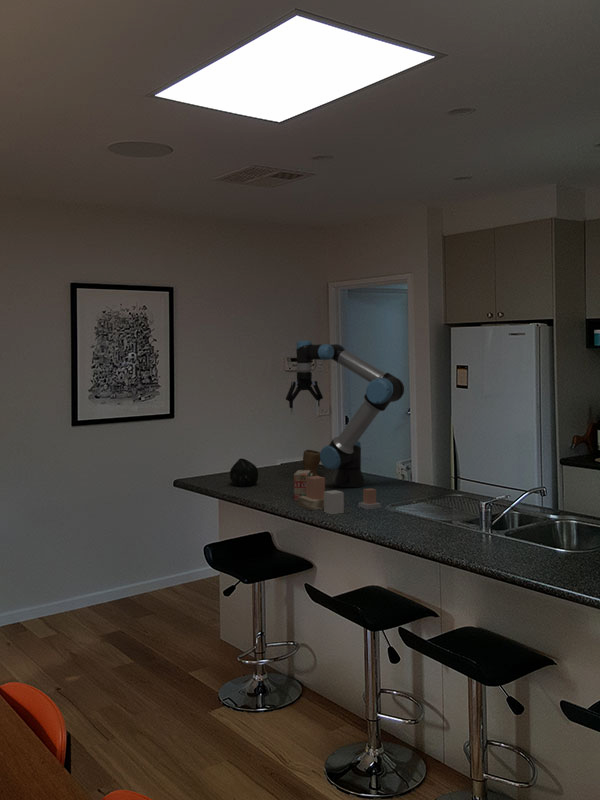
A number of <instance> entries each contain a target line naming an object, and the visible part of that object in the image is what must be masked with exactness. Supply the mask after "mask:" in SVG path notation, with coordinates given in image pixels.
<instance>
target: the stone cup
mask: <svg viewBox="0 0 600 800" xmlns="http://www.w3.org/2000/svg"><path fill="white" fill-rule="evenodd" d="M320 452H321V451H317V450H313V449H305V450H304V452H303V455H302V456H303V457H302V464H303V470H310V473H313V476H320V475H319V474H318V473H317V471H318V467H319V465H320V463H321V460H320ZM298 470H299V469H298ZM298 470H295V472H294V474H295V473H296V472H297V471H298Z"/></svg>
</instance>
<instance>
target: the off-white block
mask: <svg viewBox="0 0 600 800" xmlns="http://www.w3.org/2000/svg"><path fill="white" fill-rule="evenodd" d="M344 495H345V493H344V492H343V491H341V490H336V489H334V490H325V492H324V509H323V513H324V512H326V513H325V514H327V513H329V514H328V515H330V514H337V513H344V514H345V512H344V511H345V510H344V508H345V507H344V506H345V505H344V500H345V499H344V498H345V497H344ZM337 515H338V514H337Z"/></svg>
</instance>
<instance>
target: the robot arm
mask: <svg viewBox="0 0 600 800" xmlns="http://www.w3.org/2000/svg"><path fill="white" fill-rule="evenodd" d="M295 350H296V371H297V372H296V381H290V382H291V383H290V387H289V390H288V392H287V395H286V397H285V400H286V401H288V403H289V405H288V406H289V408H290V415H292V416H293V415H295V414H296V413H295V412H296V407H295V406H296V405H295V399H296V397H297V396H298V395H299V394H300V392H301V391H309V393H310V394H311V396H312V398H314V399H315V400H314V401H313V407H314V408H313V409H314V410H313V413H314V414H319V407H320V404H321V403H320V401H321V400H322V399H324V397H323V394H322V392H321V390H320V387H319V386H318V381H317V380H312V377H313V373H312V369H313V367H312V360H315V361H316V360H317V361H319V360H321V361H322V360H323V361H328V360H332V361H334V362H336V363H338V364H340V365H341V366H343V367H344V368H346V369H348V370H349V371H351V372H352V373H354V374H356V375H357V376H359V377H360V378H362V379H364V380H365V381H367V382H369V383H368V384H367V387H366V390H365V391H366V392H365V394H364V396H363V399H364V401H363V403H362V404H361V405H360V407H359V408H358V410H357V411H356V412H355V414H354V415H353V417H352V418H351V419H350V420H349V422H348V423H347V425H346V426H345V427H344V429H343V430H342V431H341V433H340V435H338V436H336V437H334V438H333V439H332V440H331V441H330V442H329V444H328V445H325V446H324V447H323V448H322V449H320V451H319V452H320V463H321V465H322V466H323V467H324V468H325V469H328V470H337V472H336V475H335V478H334V486H335V487H337V486H338V488H343V487H356V488H361V486H362V487H365V479H364V476H363V473H362V468H361V467H362V465H361V464H362V463H361V462H362V456H361V455H362V447H361V442H360V441H359V440H360V438H361V437H362V435H363V434H364V433H365V431H366V430H367V429H368V427H369V426H370V425H371V423H373V421H374V419H375V418H376V417H377V415H378V414H379V413H380V412H384V411H385V410H386V409H387V408H388V406H389V405H390V404H391V403H393V402H397V401H399V400H400V399H402V397H403V395H404V392H405V385H404V383H403V382H402V380H401V379H400V378H398V377H396V376H395V375H393V374H391V373H390V372H383V371H382V370H380V369H378V368H377V367H375V366H373V365H372V364H370V363H369V362H367V361H365V360H364V359H362V358H360V357H358V356H357V355H355V354H353V353H351V352H350V351H348V350H347V349H345V346H344V345H341V344H338V343H334V344H327V343H325V344H323V343H322V344H321V343H320V344H312V340H297V342H296V348H295ZM312 386H313V387H312Z"/></svg>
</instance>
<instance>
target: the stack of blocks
mask: <svg viewBox="0 0 600 800" xmlns="http://www.w3.org/2000/svg"><path fill="white" fill-rule="evenodd" d="M296 471H297V470H296ZM296 471H295V472H296ZM295 472H294V474H293V501H297V497H301V496H306V477H312V476H313V473H310V470H304V469H298V471H297V472H296V473H295Z"/></svg>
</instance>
